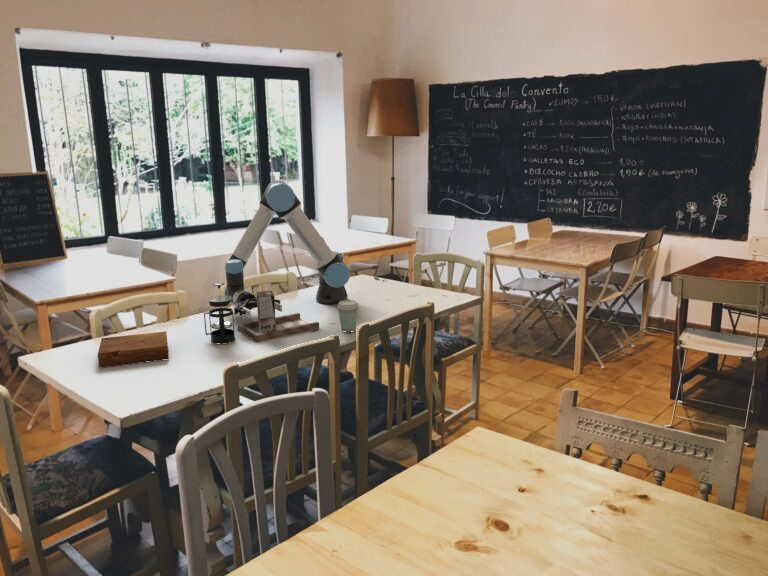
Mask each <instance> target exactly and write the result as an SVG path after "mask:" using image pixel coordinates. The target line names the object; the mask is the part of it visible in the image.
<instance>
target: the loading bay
mask: <svg viewBox="0 0 768 576" xmlns="http://www.w3.org/2000/svg"><path fill="white" fill-rule="evenodd" d="M275 320H276V325H279V326H280V327H282V328H281V329H276V330H275V331H270V332H265V333H260V332H259V333H257V332H255V331H254V330H253V329H257V328H258V329H259V324H258V320H254V321H250V322H246V323H245V322H243V323H239V324H237V331H238V332H240V333H241V334H243V335H244V336H246V337H247V338H249V339H251V340H252V341H254V342H262V341H268V340H272V339H276V338H281V337H286V336H291V335H295V334H300V333H305V332H309V330H310V331H314V329H315V330H318V328H319V329H320V322H318V321H315V322H311V323H310V322H307V321H306V320H304V319H301V313H300V312H295V313H291V314H285V315H281V316H280V315H279V316H275Z"/></svg>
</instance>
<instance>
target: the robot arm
mask: <svg viewBox="0 0 768 576" xmlns="http://www.w3.org/2000/svg"><path fill="white" fill-rule="evenodd" d="M301 206H302V202H301V201H300V199H299V198H298V196H297V195H296V194H295V192H294V190H293V188H292V187H291V186H290V185H289V184H287V183H286V182H284V181H282V180H273V181H271V182H270V183H269V184H267V186H266V187H265V190H264V192H263V195H262V197H261V198H260V201H259V207H258V209H257V211H256V212H255V214H254V216H253V218H252V220H251V221H250V222H249V224H248V226H247V228H246V229H245V231H244V233H243V234H242V236H241V238H240V240H239V242H238V244H237V245H236V247H235V249H234V250H233V252H232V254H231V256H230V258H229V259H228V260H226V261H225V262H224V263H225V264H224V265H225V266H224V271H225V280H226V281H225V282H226V288H225V289H224V292H223V296H230V297H232V300H230V303H229V304H233V306H234V310H233V314H234V315H237V314H239V316H243V315H244V316H246V317H248V318H252V310H253V309H256V308H257V296H255V295H254V294H253V293H251V292H249V291H247V290H245V277H244V269H245V267H246V265H247V263H248V261H249V260H250V257H251V256H252V254H253V253H254V251H255V250H256V247H257V246H258V244H259V243H260V241H261V239H262V237H263V236H264V234H265V232H266V231H267V228H268V227H269V225H270V223H271V222H272V220H273V218H274V217H275V215H276V216H277V217H278V218H279V219H281V220H284V221H285V223H287V225H288V227H290V229H291V230H292V232H293V233H294V235H296V237H297V238H298V240H299V242H301V244H302V245H303V247H304V248H305V249H306V250H307V252H308V253H309V255H310V257H312V260H314V262H315V269H316V270H317V272H318V289H317V291H316V295H315V301H316V302H317V303H318V304H322V303H323V305H336V304H338V303H339V302H340V301H344V300H349V299H348V297H349V296H348V292H347V290H346V287H345V285H346V284H347V283H348V282H349V280H350V277H351V273H350V268H349V266H348V265H347V264H346V263H345V262H344V255H343V253H342V252H337V251H332V250H331V248H330V247H329V245H328V244H327V243H326V242H325V240H324V238H323V237H322V236H321V235H320V232H319V231H318V230H317V229H316V228H315V226H314V224H312V222H311V220H310V219H309V218H308V216H307V215H306V213H305V212H304V211H303V209H302V208H301ZM275 311H278V312H283V305H282V304H281V300H280V299H276V298H275Z"/></svg>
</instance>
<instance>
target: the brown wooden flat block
mask: <svg viewBox="0 0 768 576" xmlns="http://www.w3.org/2000/svg"><path fill="white" fill-rule="evenodd" d="M167 333H168V332H167V331H158V332H148V333H138V334H128V335H119V336H111V337H102V338H101V340H100V343H99V348H98V351H97V361H98V368H99V369H101V368H100V367H103V368H108V367H107V366H111V367H116V366H115V365H120V366H123V365H122V364H128V365H133V364H132V363H136V364H140V363H139V362H144V363H147V362H146V361H153V362H155V361H154V360H161V361H163V360H162V359H169V360H170V358H169V357H168V356H169V345H168V334H167Z"/></svg>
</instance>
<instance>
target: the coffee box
mask: <svg viewBox="0 0 768 576" xmlns="http://www.w3.org/2000/svg"><path fill="white" fill-rule="evenodd" d="M255 294H256V299H257V307H256V308H257V309H256V310H257V321H258V324H259V328H258V331H259V334H260V333H265V332H270V331H275V330H277V324H276V320H275V317H276V309H275V300H276V298H275V294H274V293H273V291H272V290H265V291H264V290H263V291H257V292H256V293H255Z"/></svg>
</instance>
